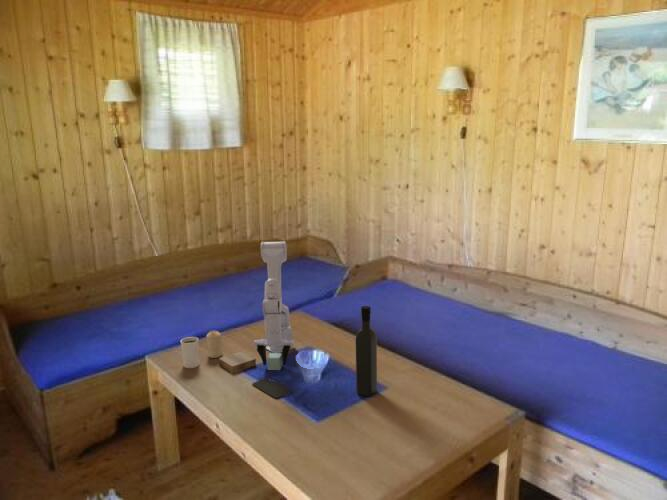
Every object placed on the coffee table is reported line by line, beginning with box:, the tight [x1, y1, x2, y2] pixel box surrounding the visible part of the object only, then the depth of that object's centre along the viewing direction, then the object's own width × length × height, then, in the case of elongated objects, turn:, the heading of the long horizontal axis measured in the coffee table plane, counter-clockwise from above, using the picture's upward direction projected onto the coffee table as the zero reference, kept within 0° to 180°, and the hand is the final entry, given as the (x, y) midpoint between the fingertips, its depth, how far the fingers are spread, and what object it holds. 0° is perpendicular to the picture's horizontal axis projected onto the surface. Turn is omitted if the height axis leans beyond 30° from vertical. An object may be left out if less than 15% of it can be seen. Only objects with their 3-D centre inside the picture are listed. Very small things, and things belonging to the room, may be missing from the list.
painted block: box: [266, 352, 283, 371], centre depth 203 cm, size 4×4×5 cm
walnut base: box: [218, 350, 257, 374], centre depth 207 cm, size 10×10×3 cm
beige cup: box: [180, 336, 200, 369], centre depth 207 cm, size 7×7×10 cm
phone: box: [251, 377, 293, 400], centre depth 188 cm, size 7×1×15 cm
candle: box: [206, 329, 223, 359], centre depth 215 cm, size 6×6×10 cm
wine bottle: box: [355, 305, 378, 398], centre depth 180 cm, size 6×6×30 cm
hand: (274, 364), depth 203 cm, fingers open, 7 cm apart
